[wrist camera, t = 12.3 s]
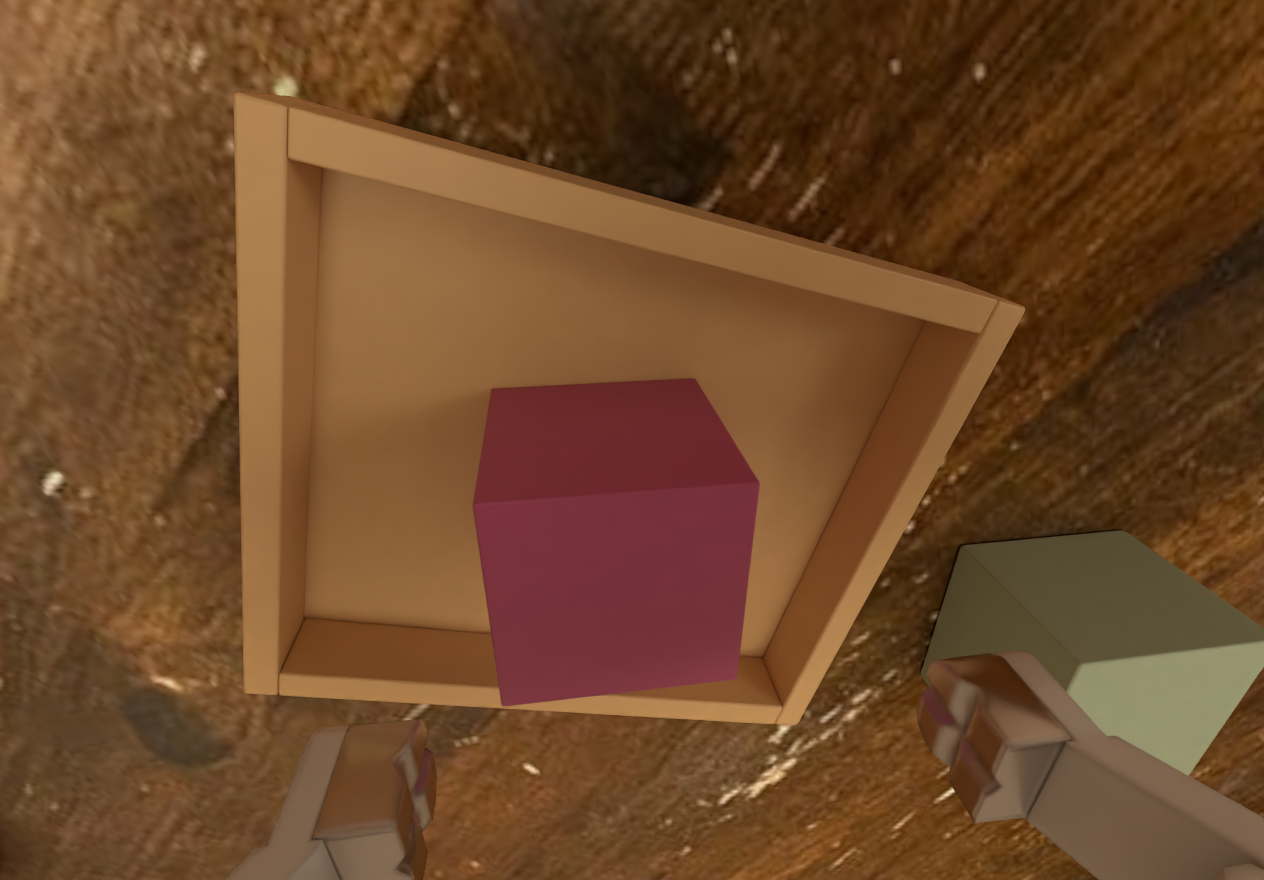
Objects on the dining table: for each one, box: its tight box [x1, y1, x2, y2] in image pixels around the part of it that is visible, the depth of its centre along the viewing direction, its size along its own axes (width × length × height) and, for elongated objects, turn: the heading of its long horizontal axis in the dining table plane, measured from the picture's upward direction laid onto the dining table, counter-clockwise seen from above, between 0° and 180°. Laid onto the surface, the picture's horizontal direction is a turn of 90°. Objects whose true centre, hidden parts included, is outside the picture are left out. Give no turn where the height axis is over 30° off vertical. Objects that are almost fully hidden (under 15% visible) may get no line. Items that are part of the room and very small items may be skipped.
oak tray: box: [234, 92, 1025, 725], centre depth 15 cm, size 16×14×2 cm
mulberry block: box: [473, 378, 760, 707], centre depth 14 cm, size 5×5×5 cm
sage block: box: [921, 530, 1264, 776], centre depth 19 cm, size 6×6×5 cm
